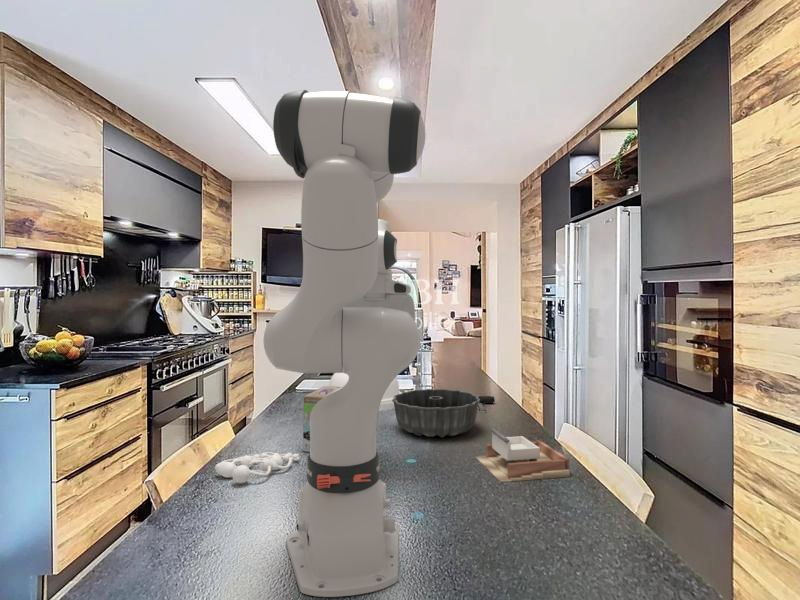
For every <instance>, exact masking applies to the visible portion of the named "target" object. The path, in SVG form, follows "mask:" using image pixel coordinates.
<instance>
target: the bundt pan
mask: <svg viewBox="0 0 800 600" xmlns="http://www.w3.org/2000/svg"><path fill="white" fill-rule="evenodd" d="M479 396H480V395H476V394H474V393H473V392H469V391H462V390H459V389H457V390H455V389H447V388H435V389H433V388H425V389H414V390H409V391H403V392H402V391H401V394H397V395H395V396H394V397H393V398H394V399H392V401H393V402H394V407H395V408H394V412H395V417H396V423H398V425H399V427H401V429H403V430H404V431H406V432H408V433H410V434H414V435H415V436H418V437H422V436H426V437H427V438H433V437H436V436H438V437H439V438H444V437H446V436H448V437H454V436H457V435H464V434H466V433H467V432H468V431H469V430H470V429H471V428H473V426H474V424H475V423H476V419H477V414H478V408H477V407H478V403H479V402H480V399H479Z"/></svg>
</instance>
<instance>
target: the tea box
mask: <svg viewBox="0 0 800 600" xmlns="http://www.w3.org/2000/svg"><path fill="white" fill-rule="evenodd" d="M341 388H342V387H334V386H329V385H323V386H321V387H319V388H318V389H316V390H313V391H312V392H309V393H308V394H306V395H304V396H303V421H302V423H303V424H302V426H303V430H302V431H303V433H302V436H303V437H302V451H303V452H305V453H310V414H311V411H312V409H313V407H314V406H315V404H316V403H317V402H318V401H320V400H321V399H322V398H324V397H326V396H327V395H329V394H331V393H333V392H335V391H337V390H339V389H341Z"/></svg>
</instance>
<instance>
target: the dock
mask: <svg viewBox="0 0 800 600" xmlns="http://www.w3.org/2000/svg"><path fill="white" fill-rule="evenodd" d="M531 442H532V443H533V444H535V445H536V446H538V447H539V448H540V458H538V459H537V461H531V462H529V459H524V460H514V463H508V464H507V462H506V461H507V460H506V459H505V458H504V457H502V456H501V455H499V456H498V455H496V454H495V450H494V449H493V448H492V443H491V444H486V445H485V446H486V448H485V449H486V450H485V454H484V455H479V456H475V458H476V459H477V460H478V461H479V462H480V464H482V465H483V466H484V468H486V469H487V470H488V471H489V473H491V474H492V475H493V476H494V477H495V478H496V479H497V481H499V482H500V483H508V482H520V481H533V480H546V479H547V480H548V479H555V478H556V479H558V478H569V477H571V471H570V458H568V457H567V456H565V455H564V454H562V453H561V452H559V451H558V450H556V449H554V448H553V447H552V446H550V445H549V444H546V443H545V442H543V441H542V440H540V439H539V440H538V439H537V440H535V441H531Z"/></svg>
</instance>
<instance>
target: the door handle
mask: <svg viewBox="0 0 800 600" xmlns="http://www.w3.org/2000/svg"><path fill="white" fill-rule="evenodd" d="M478 396H479V399H480V402H479V403H478V408H479V409H480V410H481V411H486V412H487V408H486V407H485V406H484V404H483V403H492V402H494V403H495V399H496V398H495V397H494V396H492V395H478ZM478 408H477V409H478Z"/></svg>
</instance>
